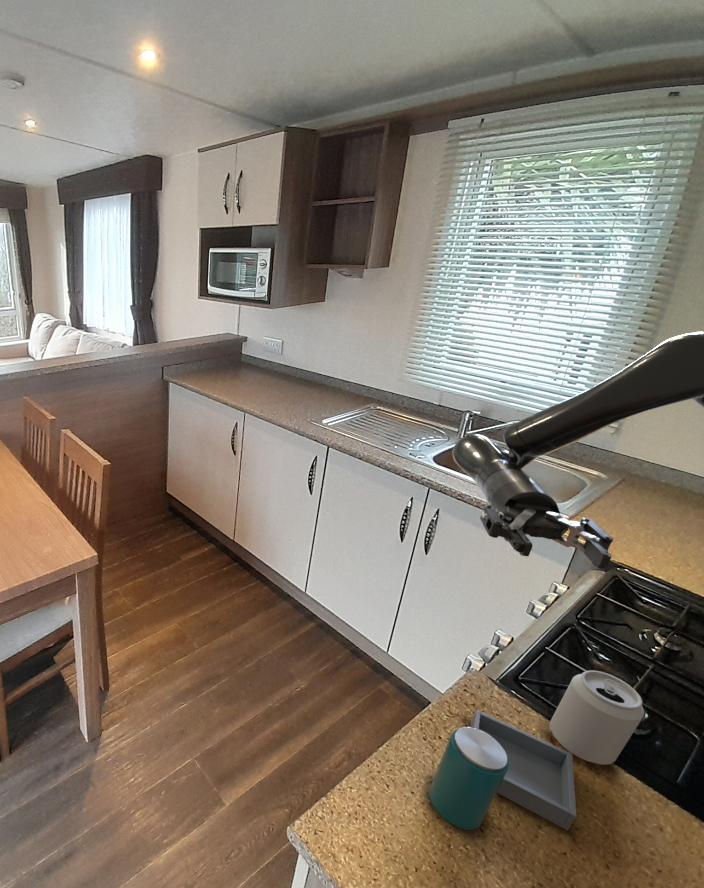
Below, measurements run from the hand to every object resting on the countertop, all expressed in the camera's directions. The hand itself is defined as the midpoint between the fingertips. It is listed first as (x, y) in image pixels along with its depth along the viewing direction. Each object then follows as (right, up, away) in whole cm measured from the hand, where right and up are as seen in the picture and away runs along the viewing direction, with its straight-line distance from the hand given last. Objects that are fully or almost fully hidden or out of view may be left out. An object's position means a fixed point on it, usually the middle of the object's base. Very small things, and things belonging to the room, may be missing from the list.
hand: (565, 556), depth 66 cm
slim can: (-16, -34, -1) cm, 37 cm away
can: (+8, -30, +6) cm, 32 cm away
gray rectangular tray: (-5, -32, +3) cm, 32 cm away
